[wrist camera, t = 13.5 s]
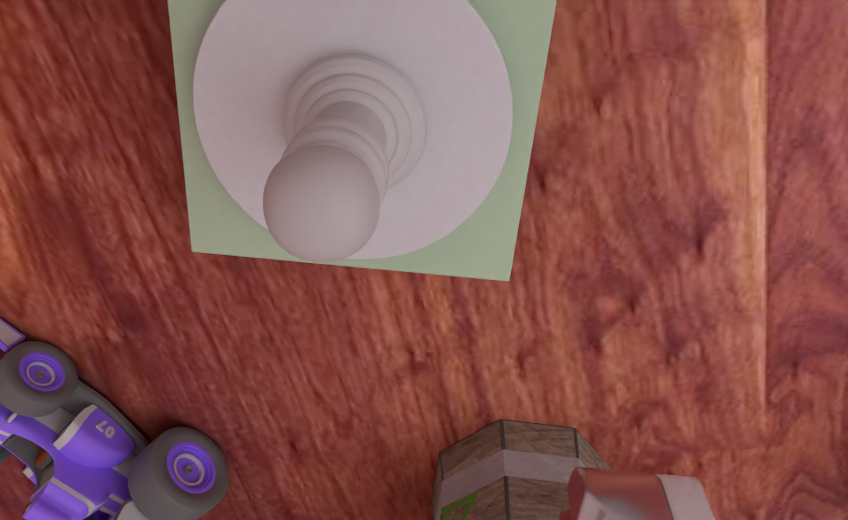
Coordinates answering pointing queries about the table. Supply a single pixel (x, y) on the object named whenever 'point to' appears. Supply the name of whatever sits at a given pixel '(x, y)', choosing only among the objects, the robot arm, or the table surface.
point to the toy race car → (96, 447)
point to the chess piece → (341, 155)
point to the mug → (510, 472)
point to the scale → (426, 71)
